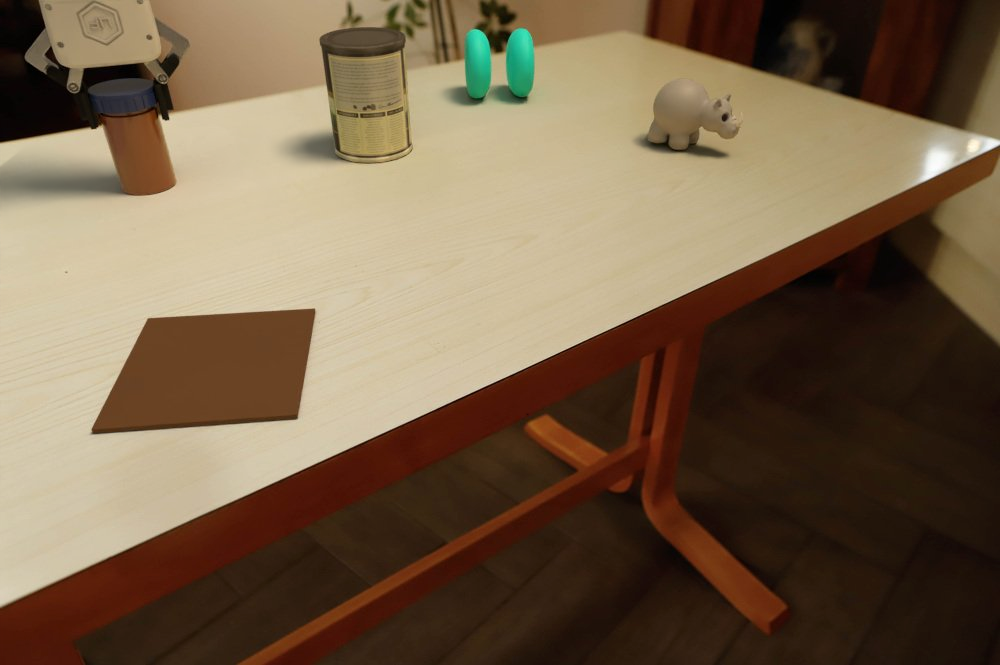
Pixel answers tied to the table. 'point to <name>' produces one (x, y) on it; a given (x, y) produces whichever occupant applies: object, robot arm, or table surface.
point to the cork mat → (211, 371)
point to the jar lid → (122, 96)
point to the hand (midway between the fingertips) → (130, 119)
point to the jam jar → (139, 151)
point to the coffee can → (367, 93)
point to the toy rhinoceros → (690, 114)
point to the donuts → (516, 63)
